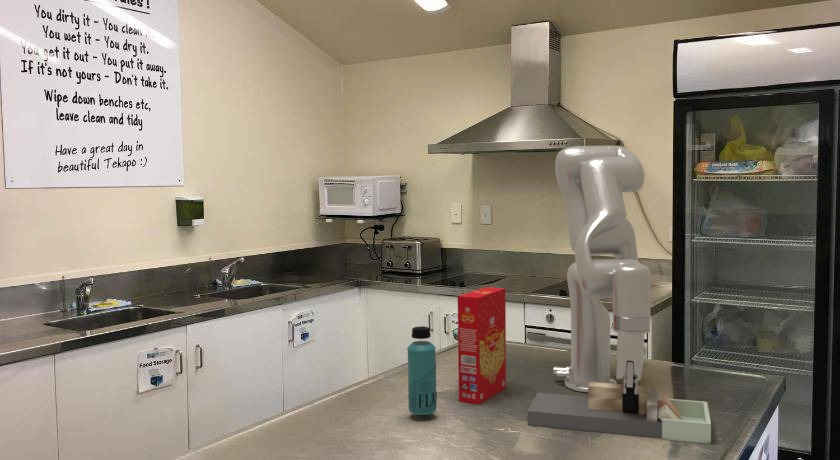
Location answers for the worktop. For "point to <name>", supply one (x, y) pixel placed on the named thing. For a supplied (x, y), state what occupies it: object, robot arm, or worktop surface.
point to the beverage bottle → (421, 373)
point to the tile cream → (666, 413)
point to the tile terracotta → (669, 405)
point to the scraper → (612, 395)
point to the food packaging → (481, 344)
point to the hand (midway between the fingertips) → (630, 408)
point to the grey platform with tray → (621, 419)
